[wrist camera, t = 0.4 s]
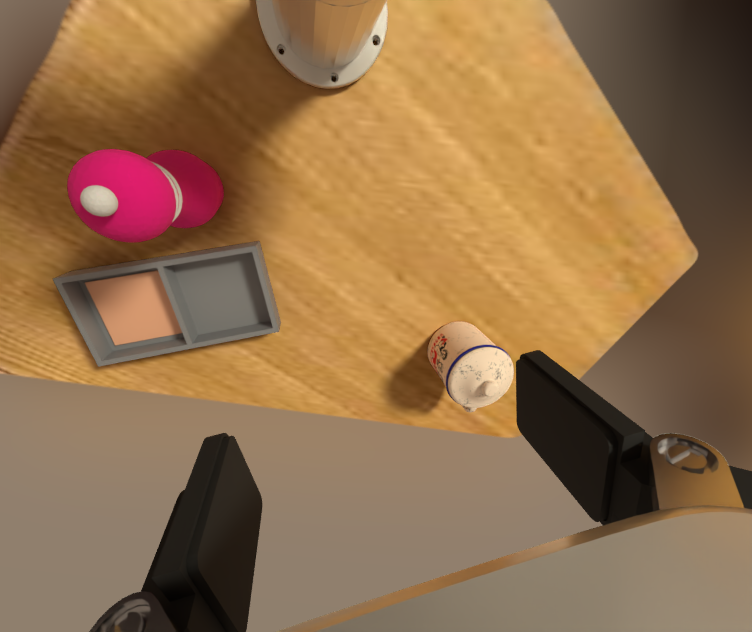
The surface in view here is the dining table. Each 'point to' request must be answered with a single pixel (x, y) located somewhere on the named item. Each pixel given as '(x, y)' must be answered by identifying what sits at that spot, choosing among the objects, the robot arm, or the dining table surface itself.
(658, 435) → the robot arm
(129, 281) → the tray
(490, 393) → the teacup with lid
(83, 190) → the pepper mill
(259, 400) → the dining table surface
